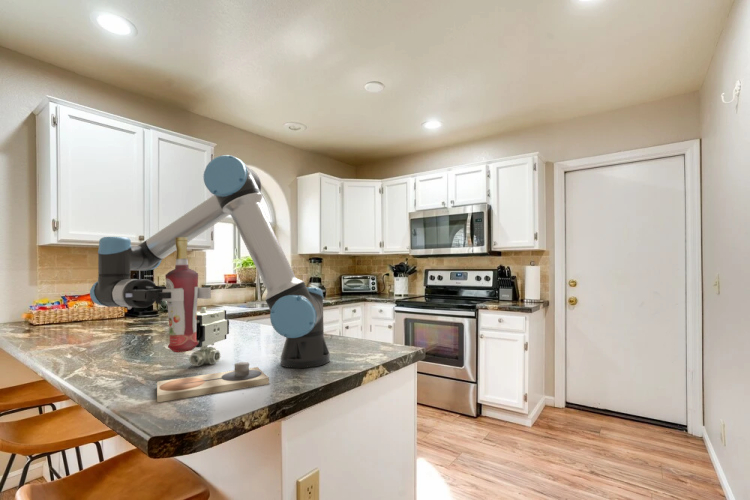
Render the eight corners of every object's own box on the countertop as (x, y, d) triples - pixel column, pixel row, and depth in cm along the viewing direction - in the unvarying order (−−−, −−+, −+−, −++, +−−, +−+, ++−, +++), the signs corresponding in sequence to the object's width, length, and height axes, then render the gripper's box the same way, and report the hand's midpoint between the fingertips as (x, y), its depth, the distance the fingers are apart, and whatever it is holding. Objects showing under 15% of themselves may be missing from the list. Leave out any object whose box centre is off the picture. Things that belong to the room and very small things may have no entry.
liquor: (205, 349, 97) (203, 237, 97) (175, 355, 91) (173, 236, 91) (190, 345, 101) (188, 238, 102) (161, 351, 96) (159, 238, 96)
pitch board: (257, 372, 111) (257, 356, 111) (269, 383, 99) (268, 365, 99) (157, 387, 98) (157, 369, 98) (157, 402, 87) (157, 382, 87)
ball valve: (199, 371, 113) (199, 310, 114) (173, 370, 115) (173, 310, 116) (233, 357, 131) (233, 304, 132) (211, 356, 132) (210, 304, 133)
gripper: (170, 303, 113) (228, 305, 103) (95, 311, 95) (157, 314, 85) (170, 278, 113) (228, 277, 103) (96, 280, 95) (157, 280, 85)
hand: (196, 294), depth 94 cm, fingers closed on liquor, 7 cm apart
